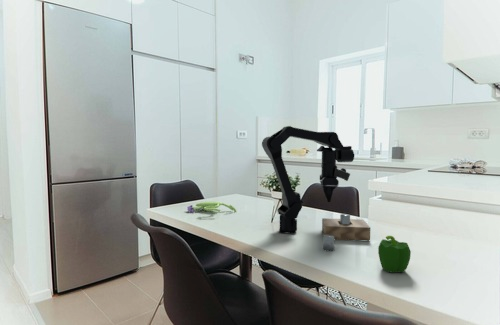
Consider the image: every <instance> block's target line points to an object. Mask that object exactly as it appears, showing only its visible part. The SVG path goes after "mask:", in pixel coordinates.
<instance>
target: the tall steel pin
mask: <svg viewBox="0 0 500 325" xmlns="http://www.w3.org/2000/svg"><path fill="white" fill-rule="evenodd" d="M339 216H340V218H339V219H340V224H349V225H350V219H351V214H347V213H341V214H340V215H339Z"/></svg>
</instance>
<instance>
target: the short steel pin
mask: <svg viewBox="0 0 500 325" xmlns="http://www.w3.org/2000/svg"><path fill="white" fill-rule="evenodd" d="M322 242H323V243H322V246H323V247H322V250H323V249H324V250H323V251H325V250H326V251H325V252H334V251H335V240H334V236H333V235H324V234H323V240H322ZM333 250H334V251H333Z"/></svg>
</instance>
